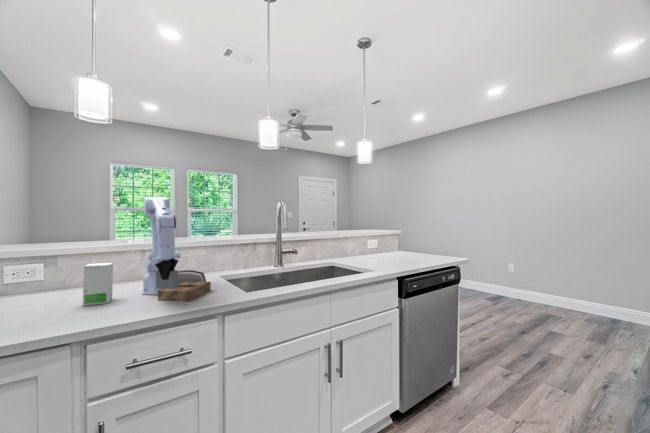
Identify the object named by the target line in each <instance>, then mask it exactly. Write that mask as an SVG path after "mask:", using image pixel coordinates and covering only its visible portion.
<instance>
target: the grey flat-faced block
mask: <svg viewBox="0 0 650 433" xmlns="http://www.w3.org/2000/svg"><path fill="white" fill-rule="evenodd" d="M178 271H179V270H178V269H174V270H169V274H168V279H167V280H162V278H161V275H160V272H159V270H158V271H156V289H176V288H178Z"/></svg>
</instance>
